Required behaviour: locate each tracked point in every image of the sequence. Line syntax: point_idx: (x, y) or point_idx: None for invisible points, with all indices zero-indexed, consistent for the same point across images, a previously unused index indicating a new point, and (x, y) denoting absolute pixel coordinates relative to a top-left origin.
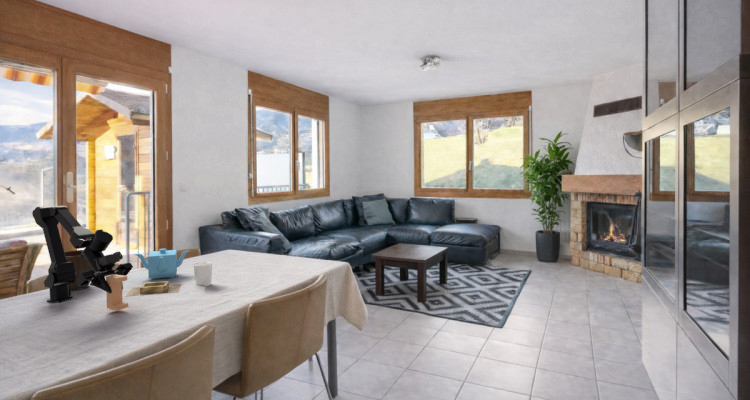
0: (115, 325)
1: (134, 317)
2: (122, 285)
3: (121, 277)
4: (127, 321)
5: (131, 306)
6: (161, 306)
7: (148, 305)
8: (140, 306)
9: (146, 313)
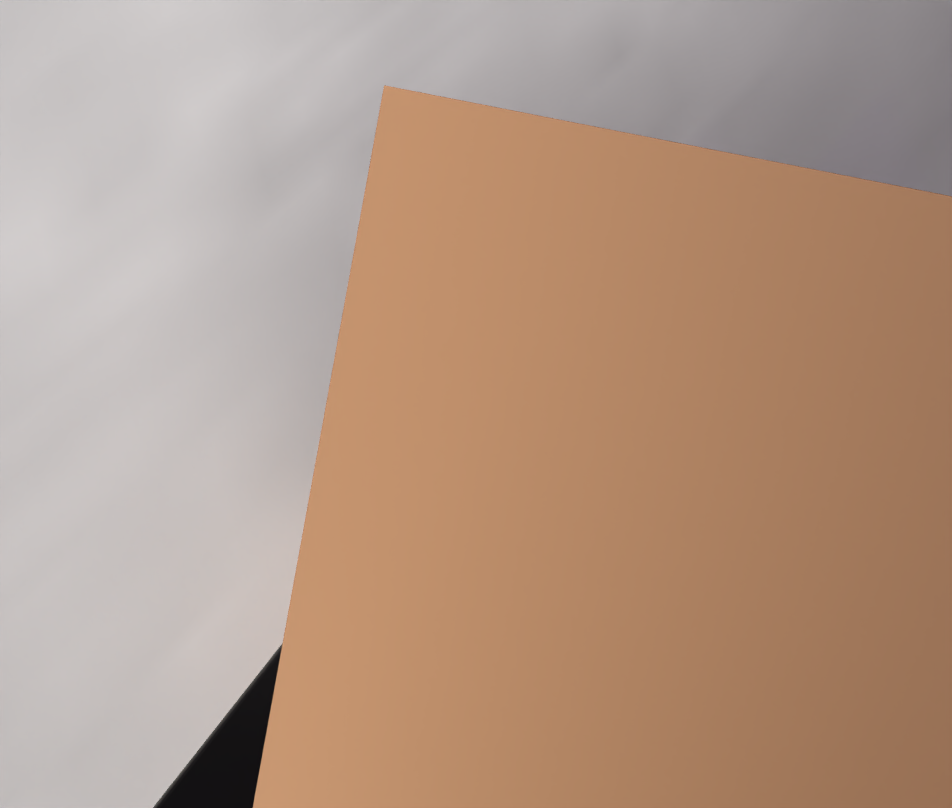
0: (931, 125)
1: (606, 108)
2: (250, 704)
3: (829, 175)
4: (765, 84)
5: (136, 607)
6: (20, 65)
7: (12, 331)
8: (99, 433)
9: (405, 62)
